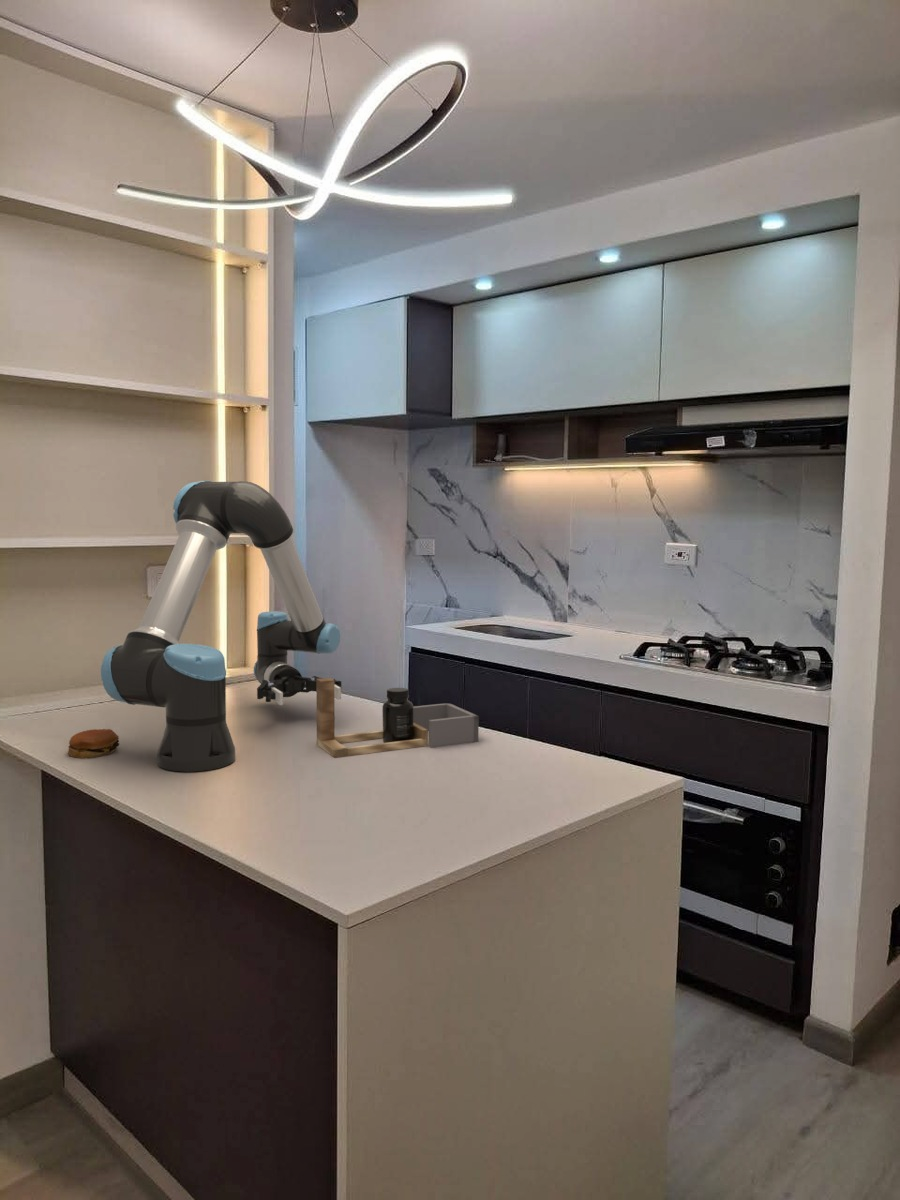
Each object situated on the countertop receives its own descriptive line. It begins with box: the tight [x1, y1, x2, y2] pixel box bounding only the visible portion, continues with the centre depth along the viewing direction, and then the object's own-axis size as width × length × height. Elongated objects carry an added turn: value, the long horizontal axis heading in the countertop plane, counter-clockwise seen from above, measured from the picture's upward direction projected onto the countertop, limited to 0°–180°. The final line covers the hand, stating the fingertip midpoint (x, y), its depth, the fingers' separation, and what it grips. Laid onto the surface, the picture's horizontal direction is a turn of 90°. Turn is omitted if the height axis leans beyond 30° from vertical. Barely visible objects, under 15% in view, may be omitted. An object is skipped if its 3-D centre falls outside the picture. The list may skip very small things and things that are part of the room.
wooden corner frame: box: [315, 677, 429, 758], centre depth 192 cm, size 22×11×14 cm, turn 118°
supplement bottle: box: [381, 687, 414, 743], centre depth 195 cm, size 7×7×12 cm
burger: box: [68, 728, 120, 759], centre depth 185 cm, size 10×9×5 cm
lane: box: [413, 702, 480, 749], centre depth 200 cm, size 12×14×6 cm
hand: (310, 696), depth 199 cm, fingers open, 13 cm apart
